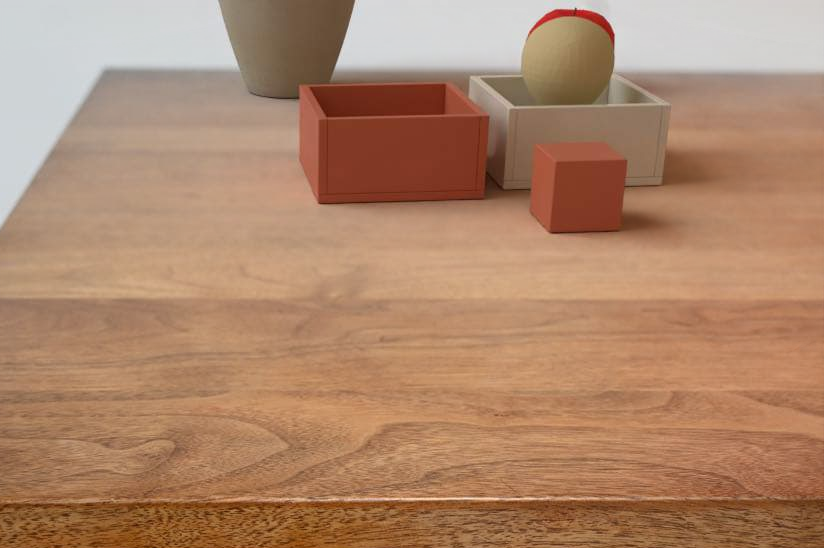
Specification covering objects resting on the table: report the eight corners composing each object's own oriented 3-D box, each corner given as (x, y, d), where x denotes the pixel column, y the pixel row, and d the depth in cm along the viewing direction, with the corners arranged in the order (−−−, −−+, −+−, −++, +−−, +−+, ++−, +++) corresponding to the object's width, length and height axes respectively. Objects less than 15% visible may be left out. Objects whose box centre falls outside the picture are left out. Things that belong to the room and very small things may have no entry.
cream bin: (607, 145, 97) (615, 72, 95) (661, 185, 87) (671, 104, 84) (465, 149, 96) (469, 75, 94) (503, 189, 86) (508, 108, 83)
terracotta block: (596, 209, 81) (603, 141, 80) (620, 230, 77) (628, 159, 76) (528, 211, 81) (534, 143, 79) (549, 233, 77) (555, 161, 75)
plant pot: (184, 82, 120) (178, -96, 113) (326, 70, 125) (328, -100, 119) (240, 113, 107) (237, -84, 101) (395, 99, 113) (401, -89, 106)
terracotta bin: (447, 156, 94) (451, 81, 92) (484, 198, 84) (489, 115, 81) (299, 160, 93) (299, 84, 91) (317, 203, 83) (318, 119, 80)
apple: (507, 89, 116) (513, 7, 113) (550, 77, 122) (556, -2, 119) (585, 101, 112) (593, 16, 109) (626, 88, 117) (634, 6, 114)
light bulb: (496, 158, 91) (505, 16, 87) (549, 143, 95) (560, 7, 91) (569, 174, 87) (583, 27, 83) (621, 159, 91) (637, 17, 87)
